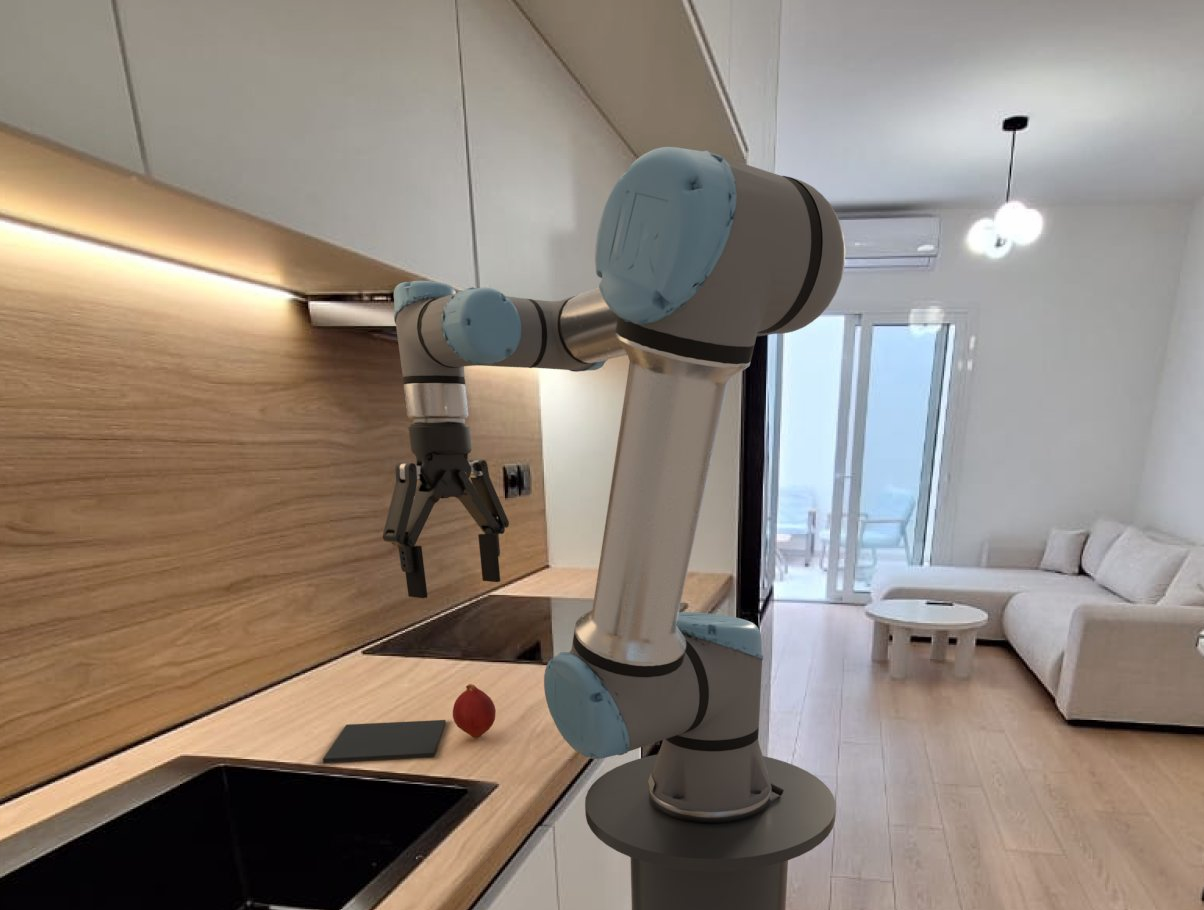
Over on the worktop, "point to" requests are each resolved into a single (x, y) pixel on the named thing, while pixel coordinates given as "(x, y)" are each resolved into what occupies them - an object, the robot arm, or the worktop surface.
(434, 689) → the worktop surface
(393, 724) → the mat
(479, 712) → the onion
